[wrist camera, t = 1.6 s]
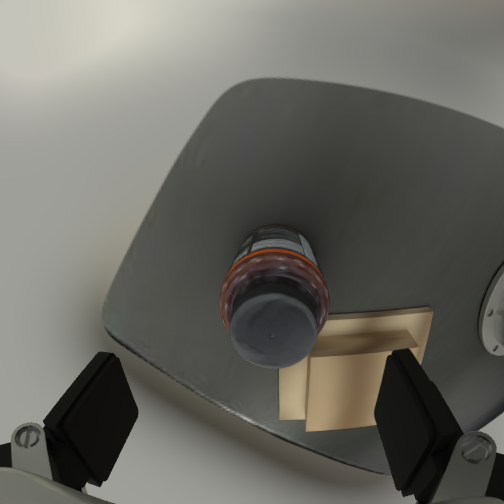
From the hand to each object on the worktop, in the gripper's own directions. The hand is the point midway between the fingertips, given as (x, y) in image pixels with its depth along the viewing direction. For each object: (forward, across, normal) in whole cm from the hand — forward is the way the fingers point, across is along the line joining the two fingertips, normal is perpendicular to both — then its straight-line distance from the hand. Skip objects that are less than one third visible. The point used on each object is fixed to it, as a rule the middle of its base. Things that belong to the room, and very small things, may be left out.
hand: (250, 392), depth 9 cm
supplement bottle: (+15, -1, 0) cm, 15 cm away
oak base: (+15, -8, +11) cm, 20 cm away
